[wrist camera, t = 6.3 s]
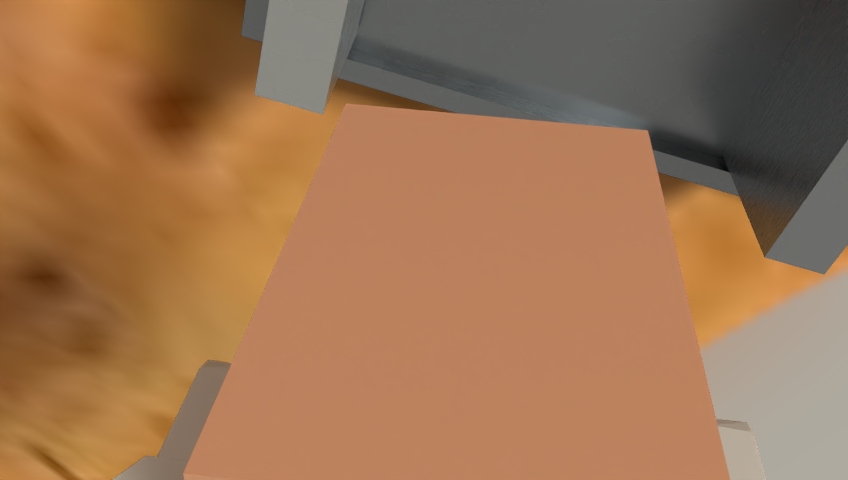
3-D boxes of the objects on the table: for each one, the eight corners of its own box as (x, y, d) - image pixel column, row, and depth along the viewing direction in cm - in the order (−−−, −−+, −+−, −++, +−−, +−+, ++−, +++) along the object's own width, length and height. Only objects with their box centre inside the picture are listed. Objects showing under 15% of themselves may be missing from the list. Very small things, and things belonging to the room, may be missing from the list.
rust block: (354, 442, 15) (263, 820, 10) (345, 103, 10) (183, 472, 6) (568, 467, 14) (583, 870, 10) (647, 130, 10) (745, 542, 5)
